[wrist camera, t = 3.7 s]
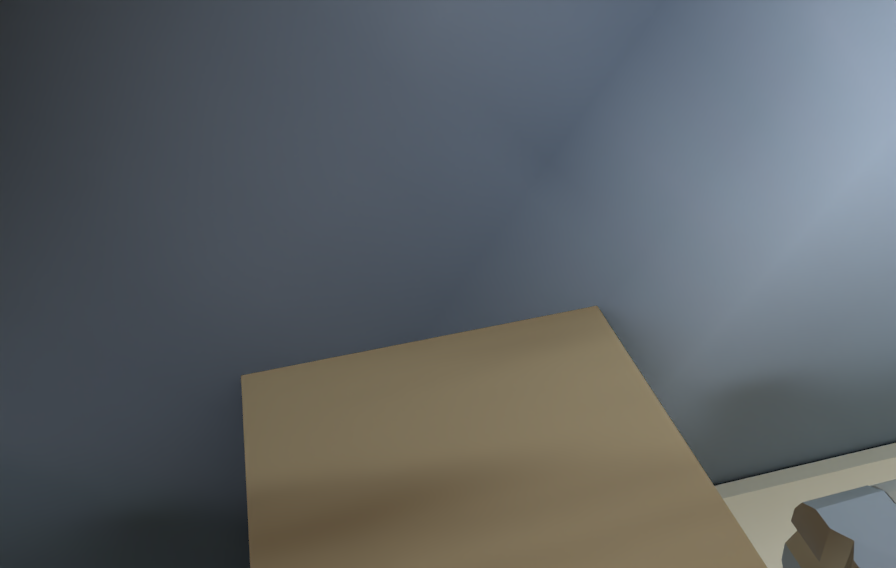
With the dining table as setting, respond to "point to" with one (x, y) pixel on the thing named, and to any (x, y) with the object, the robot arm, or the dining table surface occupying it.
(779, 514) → the card
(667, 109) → the dining table surface
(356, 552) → the oak cube
